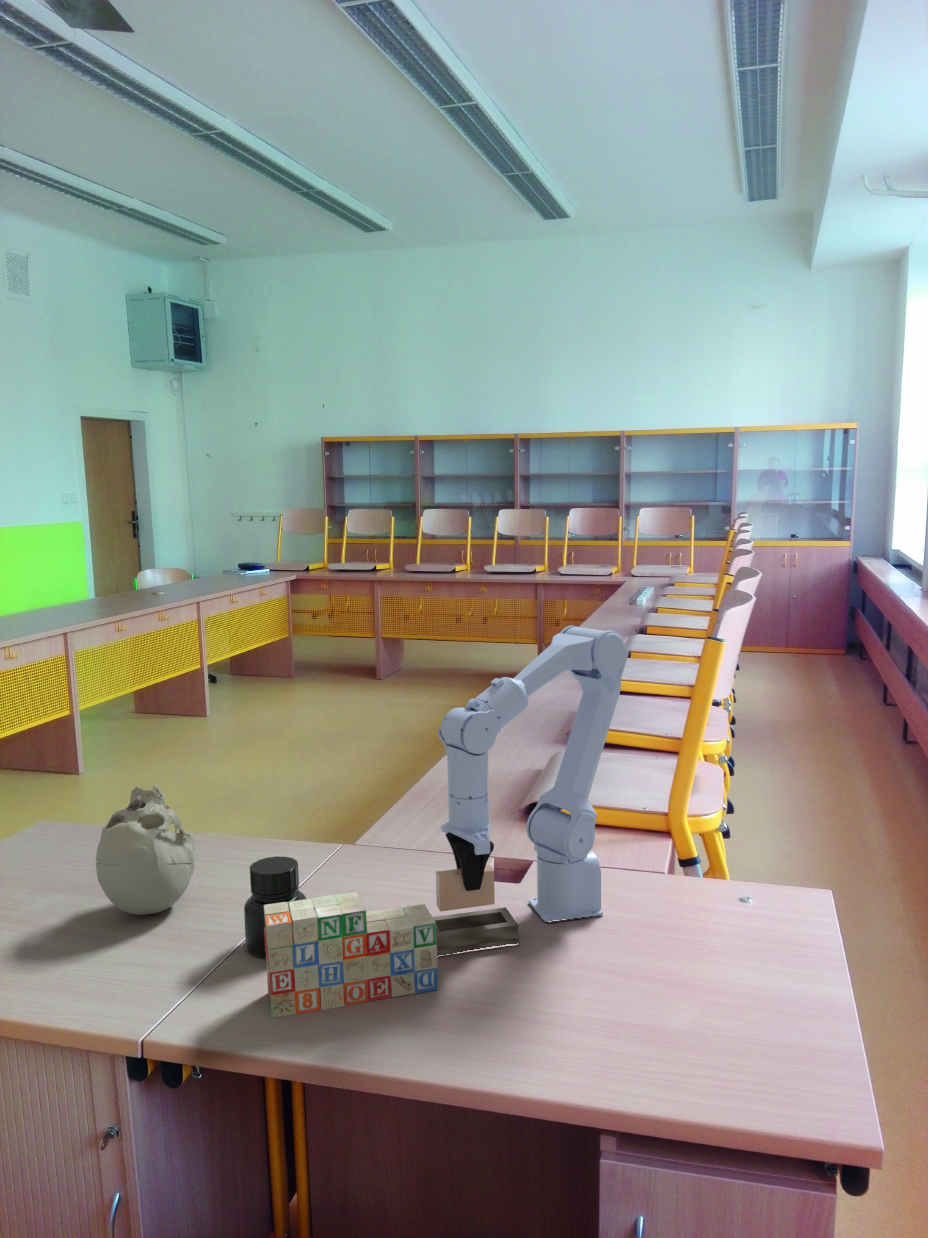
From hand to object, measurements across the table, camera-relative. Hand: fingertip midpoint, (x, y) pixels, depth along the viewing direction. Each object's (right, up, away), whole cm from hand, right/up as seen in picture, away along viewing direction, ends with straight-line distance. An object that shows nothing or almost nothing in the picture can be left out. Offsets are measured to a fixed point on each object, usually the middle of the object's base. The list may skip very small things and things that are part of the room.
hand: (470, 885), depth 129 cm
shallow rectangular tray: (0, -8, +1) cm, 8 cm away
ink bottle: (-28, -9, +1) cm, 29 cm away
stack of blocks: (-15, -11, -12) cm, 22 cm away
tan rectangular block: (-1, -3, 0) cm, 3 cm away
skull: (-50, -8, +13) cm, 53 cm away
